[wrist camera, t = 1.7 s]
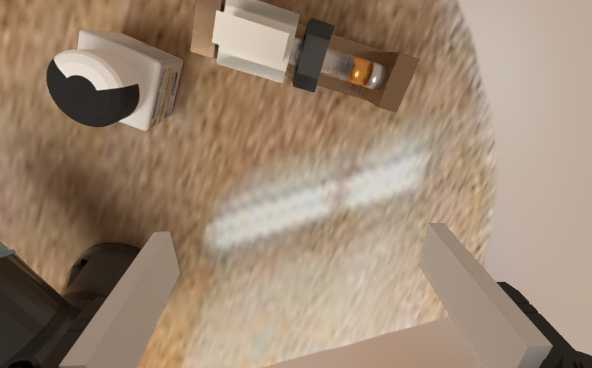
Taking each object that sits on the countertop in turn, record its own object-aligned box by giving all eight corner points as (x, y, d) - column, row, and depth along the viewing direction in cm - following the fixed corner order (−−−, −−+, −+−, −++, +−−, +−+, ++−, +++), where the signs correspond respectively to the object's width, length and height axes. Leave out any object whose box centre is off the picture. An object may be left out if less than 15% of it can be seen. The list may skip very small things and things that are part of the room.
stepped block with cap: (227, 60, 30) (200, 67, 20) (238, 0, 28) (212, -25, 18) (283, 77, 31) (282, 91, 21) (297, 20, 28) (303, 6, 19)
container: (171, 117, 38) (120, 148, 27) (111, 94, 37) (29, 116, 25) (185, 59, 35) (135, 66, 24) (120, 31, 34) (32, 23, 22)
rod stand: (216, 54, 35) (189, 57, 25) (224, -1, 33) (198, -22, 23) (366, 99, 38) (394, 117, 28) (383, 51, 36) (421, 53, 26)
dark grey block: (292, 80, 31) (293, 86, 26) (307, 23, 29) (311, 18, 24) (309, 85, 31) (314, 92, 26) (325, 29, 29) (334, 25, 24)
